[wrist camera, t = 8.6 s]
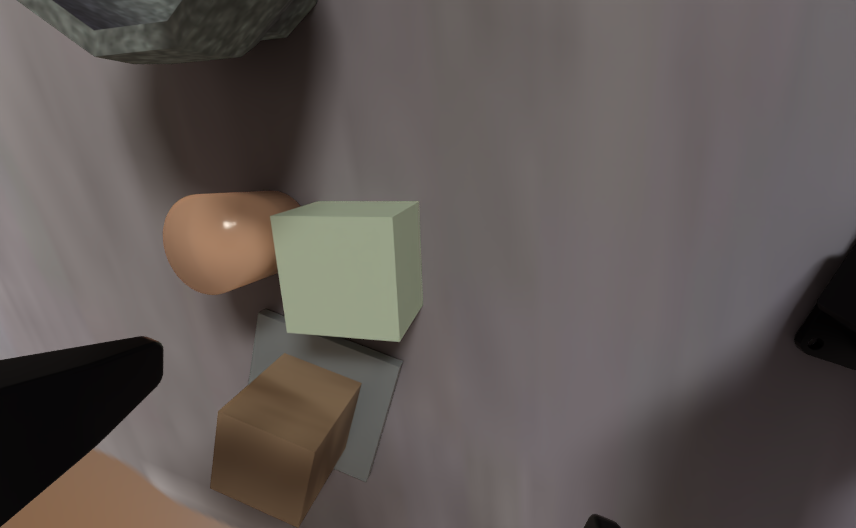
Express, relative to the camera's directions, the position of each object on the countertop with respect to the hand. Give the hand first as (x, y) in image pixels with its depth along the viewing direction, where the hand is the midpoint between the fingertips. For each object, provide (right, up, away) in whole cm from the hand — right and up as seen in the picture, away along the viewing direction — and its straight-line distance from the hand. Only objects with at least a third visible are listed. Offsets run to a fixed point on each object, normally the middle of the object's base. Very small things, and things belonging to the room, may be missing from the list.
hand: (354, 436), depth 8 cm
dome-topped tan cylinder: (-6, +5, +12) cm, 15 cm away
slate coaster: (-5, -4, +15) cm, 16 cm away
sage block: (-1, +4, +12) cm, 12 cm away
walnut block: (-5, -4, +14) cm, 16 cm away
